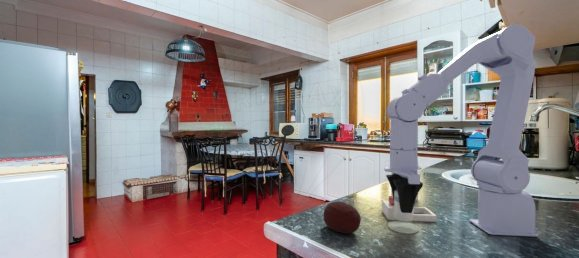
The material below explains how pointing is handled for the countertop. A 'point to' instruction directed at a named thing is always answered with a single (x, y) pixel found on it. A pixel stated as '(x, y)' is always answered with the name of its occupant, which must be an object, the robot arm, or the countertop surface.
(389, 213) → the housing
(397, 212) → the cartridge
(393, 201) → the plunger
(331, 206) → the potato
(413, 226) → the pale green dome
